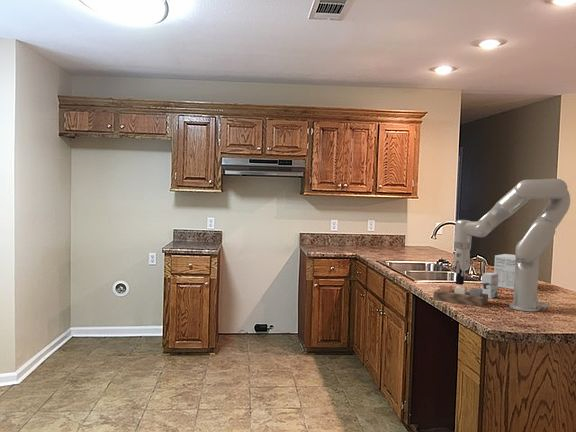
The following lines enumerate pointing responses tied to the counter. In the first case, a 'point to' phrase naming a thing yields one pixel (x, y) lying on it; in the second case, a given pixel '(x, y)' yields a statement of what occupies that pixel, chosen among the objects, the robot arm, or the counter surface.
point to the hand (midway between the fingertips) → (459, 284)
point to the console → (460, 298)
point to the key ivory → (460, 290)
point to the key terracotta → (446, 288)
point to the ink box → (490, 284)
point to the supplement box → (505, 270)
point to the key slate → (476, 292)
